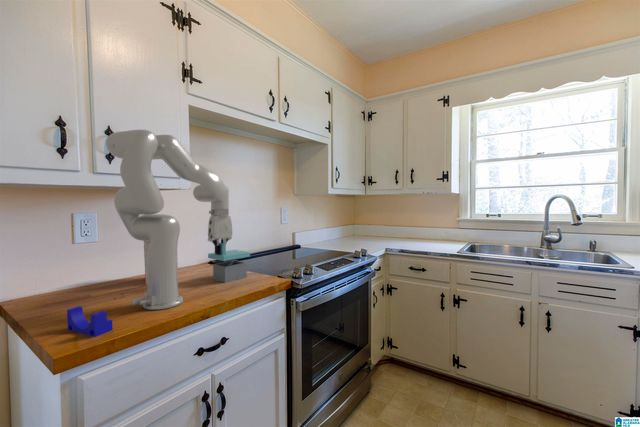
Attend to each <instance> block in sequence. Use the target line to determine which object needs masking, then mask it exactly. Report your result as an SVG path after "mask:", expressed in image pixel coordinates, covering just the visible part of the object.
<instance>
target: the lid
mask: <svg viewBox="0 0 640 427" xmlns="http://www.w3.org/2000/svg"><path fill="white" fill-rule="evenodd" d="M220 246H221V254H215V252H210V253H208V254H207V258H208V259H211V260H216V261H221V262H228V261H233V260H237V259H243V258H248V257H249V258H250V257H251V252H250V251H244V250H238V249H232V250H231V249H229V250H227V243H226V244H224V243H220Z"/></svg>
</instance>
